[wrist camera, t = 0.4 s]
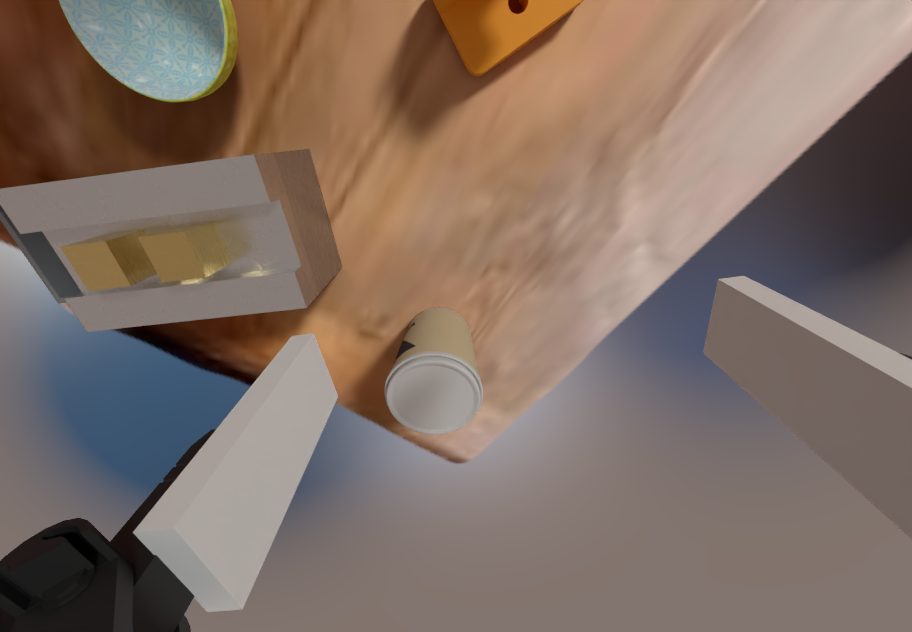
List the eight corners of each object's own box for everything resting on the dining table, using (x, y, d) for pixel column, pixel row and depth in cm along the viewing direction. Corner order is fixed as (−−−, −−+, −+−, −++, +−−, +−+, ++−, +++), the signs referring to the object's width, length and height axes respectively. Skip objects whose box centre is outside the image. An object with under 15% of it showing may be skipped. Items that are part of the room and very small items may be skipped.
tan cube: (172, 226, 28) (137, 237, 25) (214, 220, 28) (184, 231, 25) (192, 267, 30) (161, 282, 27) (231, 262, 30) (205, 277, 27)
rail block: (114, 175, 35) (-10, 190, 26) (309, 148, 34) (253, 154, 25) (172, 286, 41) (87, 331, 31) (342, 267, 40) (306, 308, 30)
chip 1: (102, 234, 29) (59, 246, 26) (143, 229, 29) (105, 241, 26) (126, 274, 30) (88, 290, 27) (164, 270, 30) (131, 285, 27)
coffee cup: (401, 297, 41) (382, 354, 31) (481, 304, 42) (489, 362, 31) (400, 363, 45) (382, 434, 35) (472, 369, 46) (477, 440, 35)
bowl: (185, 125, 33) (130, 124, 28) (93, -31, 28) (5, -71, 23) (292, 82, 32) (257, 71, 26) (215, -92, 27) (152, -150, 21)
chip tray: (19, 193, 36) (-16, 198, 33) (131, 178, 35) (104, 182, 33) (84, 292, 41) (58, 303, 38) (182, 281, 40) (163, 291, 38)
